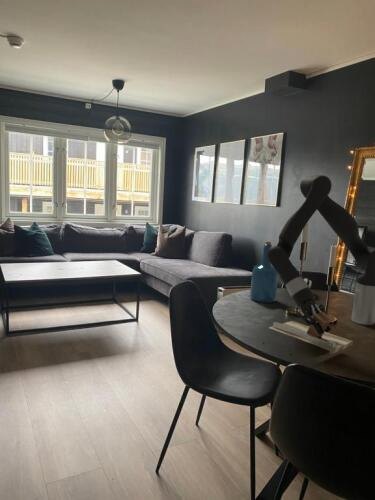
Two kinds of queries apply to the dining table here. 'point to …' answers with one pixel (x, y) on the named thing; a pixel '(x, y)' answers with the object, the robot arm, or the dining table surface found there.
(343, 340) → the board
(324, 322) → the brown squarish block
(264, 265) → the wine bottle
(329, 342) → the rail
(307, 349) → the dining table surface
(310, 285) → the hinge
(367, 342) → the dining table surface
